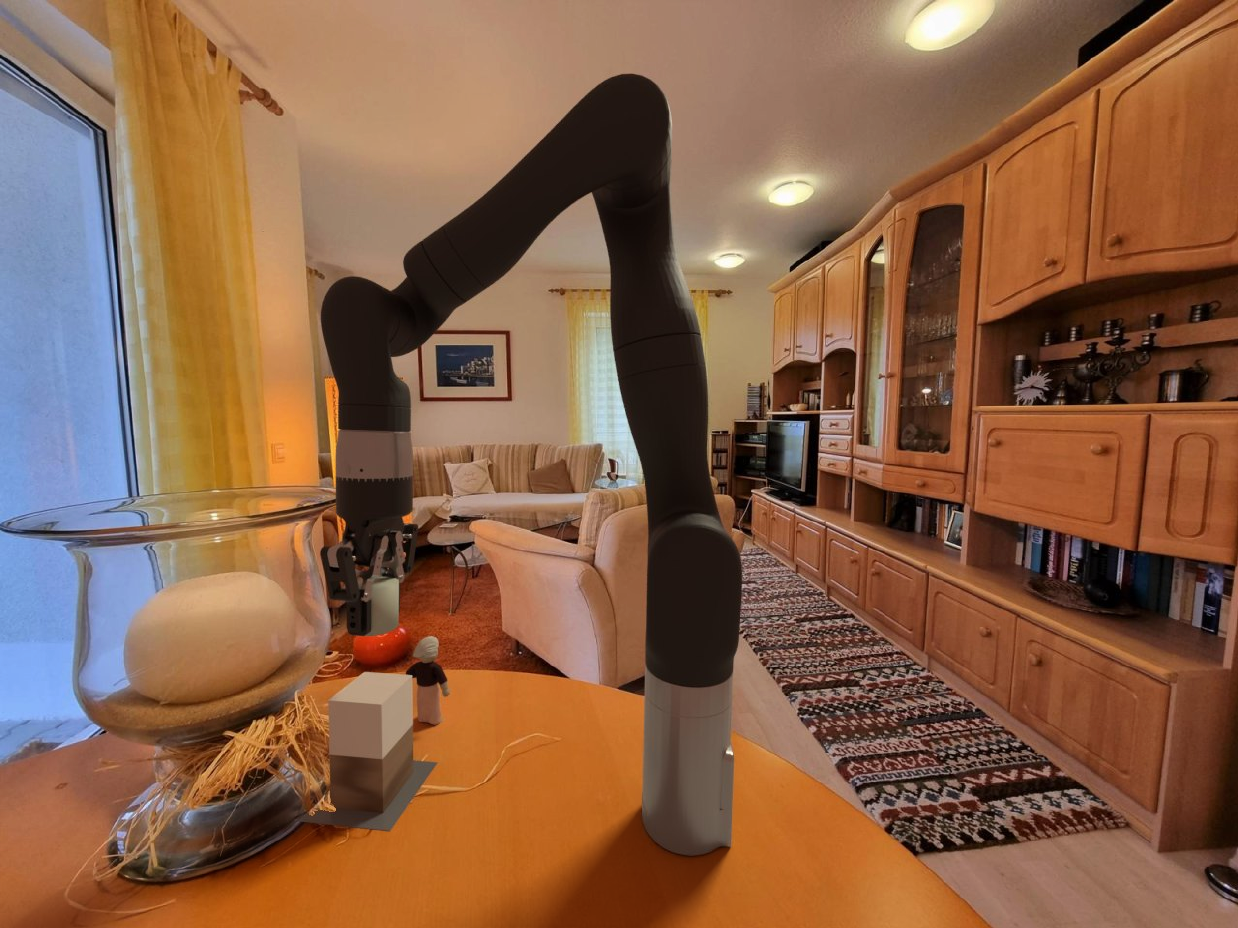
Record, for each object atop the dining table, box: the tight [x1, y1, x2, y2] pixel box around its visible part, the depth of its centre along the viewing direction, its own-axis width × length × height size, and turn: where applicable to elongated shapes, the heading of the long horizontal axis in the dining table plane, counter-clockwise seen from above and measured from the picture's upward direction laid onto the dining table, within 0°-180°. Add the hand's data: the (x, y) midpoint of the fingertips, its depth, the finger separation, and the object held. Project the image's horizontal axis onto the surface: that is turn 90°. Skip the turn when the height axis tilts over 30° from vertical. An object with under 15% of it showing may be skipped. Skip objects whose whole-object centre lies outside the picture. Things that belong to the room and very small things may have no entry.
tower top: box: [327, 671, 414, 759], centre depth 52 cm, size 6×6×6 cm
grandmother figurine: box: [405, 635, 451, 726], centre depth 66 cm, size 8×4×13 cm, turn 82°
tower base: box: [329, 724, 414, 813], centre depth 53 cm, size 6×6×6 cm
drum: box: [355, 577, 400, 637], centre depth 52 cm, size 5×5×5 cm
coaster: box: [298, 759, 438, 832], centre depth 53 cm, size 10×10×1 cm
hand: (375, 623), depth 52 cm, fingers closed on drum, 4 cm apart
